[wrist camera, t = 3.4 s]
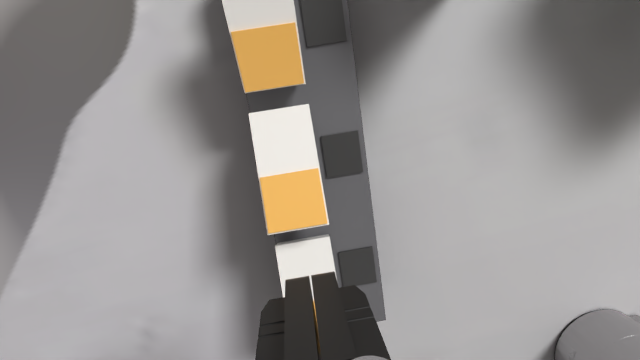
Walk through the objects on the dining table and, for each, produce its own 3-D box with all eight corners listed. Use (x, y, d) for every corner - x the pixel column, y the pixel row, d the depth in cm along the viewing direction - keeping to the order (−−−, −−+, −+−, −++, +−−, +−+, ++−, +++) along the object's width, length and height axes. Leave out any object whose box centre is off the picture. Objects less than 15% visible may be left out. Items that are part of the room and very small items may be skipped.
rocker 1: (283, -64, 20) (284, -68, 18) (303, 75, 24) (305, 84, 22) (213, -55, 19) (207, -57, 18) (246, 84, 24) (244, 94, 22)
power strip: (331, -50, 26) (341, -86, 21) (375, 294, 33) (390, 330, 28) (227, -35, 26) (210, -69, 21) (294, 308, 33) (294, 348, 28)
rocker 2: (308, 112, 24) (308, 103, 22) (327, 223, 24) (329, 224, 22) (253, 120, 24) (247, 112, 22) (271, 232, 24) (267, 235, 22)
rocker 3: (328, 234, 27) (329, 236, 25) (345, 337, 26) (348, 349, 24) (277, 242, 27) (274, 246, 24) (294, 347, 26) (292, 360, 24)
